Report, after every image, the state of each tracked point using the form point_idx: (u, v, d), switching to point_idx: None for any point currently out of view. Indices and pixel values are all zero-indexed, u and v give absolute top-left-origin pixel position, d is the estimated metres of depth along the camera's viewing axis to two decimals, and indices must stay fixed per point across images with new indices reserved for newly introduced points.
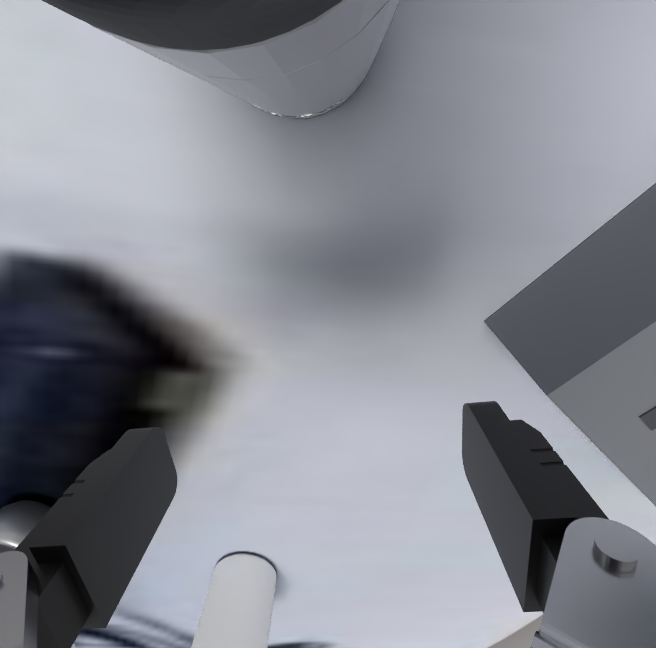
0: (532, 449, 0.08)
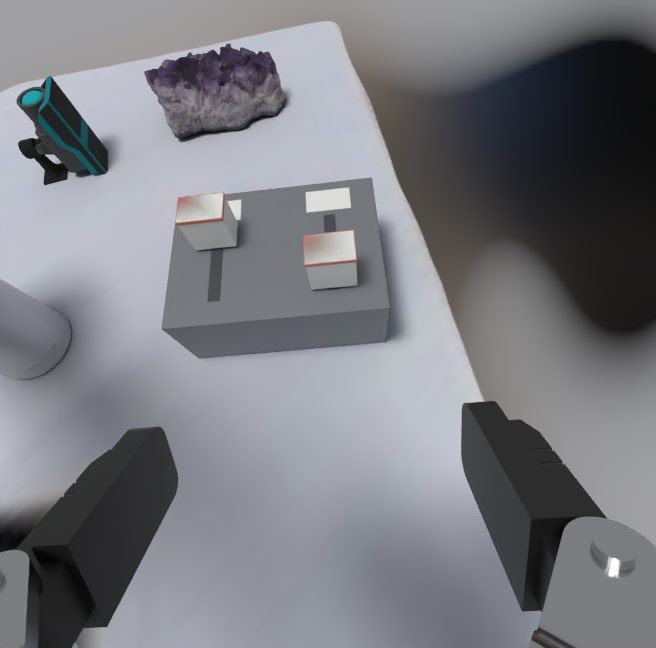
0: (531, 449, 0.08)
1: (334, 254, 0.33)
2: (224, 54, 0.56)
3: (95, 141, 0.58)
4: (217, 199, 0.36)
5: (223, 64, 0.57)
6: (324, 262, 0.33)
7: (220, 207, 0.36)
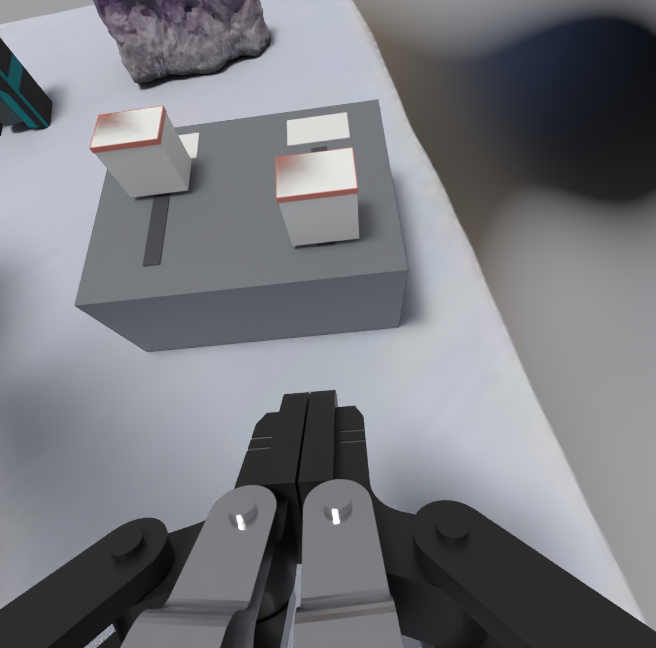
0: (348, 429, 0.09)
1: (323, 182, 0.21)
2: None
3: (33, 87, 0.47)
4: (153, 115, 0.25)
5: None
6: (307, 193, 0.21)
7: (156, 125, 0.25)
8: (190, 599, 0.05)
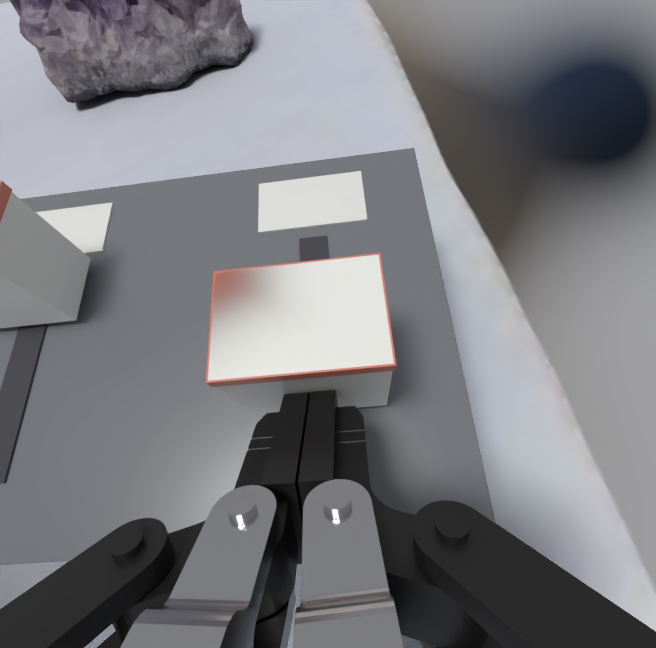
0: (348, 429, 0.09)
1: (315, 342, 0.09)
2: None
3: None
4: None
5: None
6: (278, 373, 0.09)
7: None
8: (190, 599, 0.05)
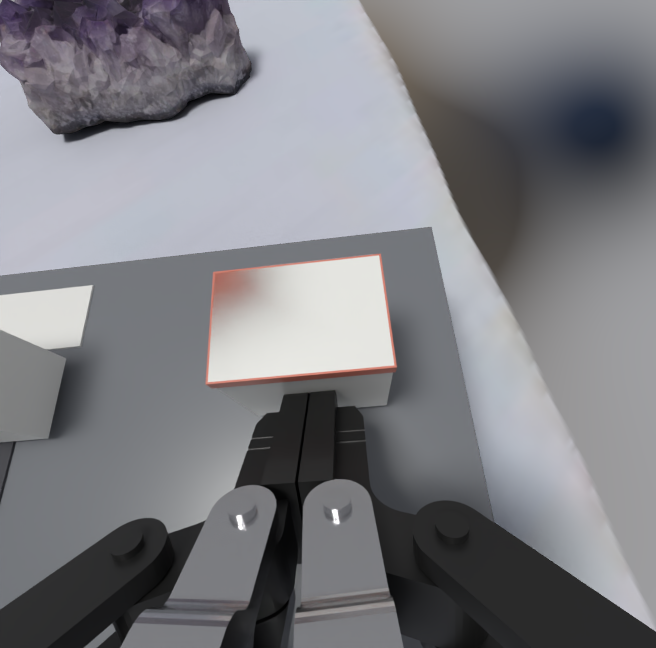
0: (348, 429, 0.09)
1: (315, 344, 0.09)
2: None
3: None
4: None
5: None
6: (278, 375, 0.09)
7: None
8: (190, 599, 0.05)
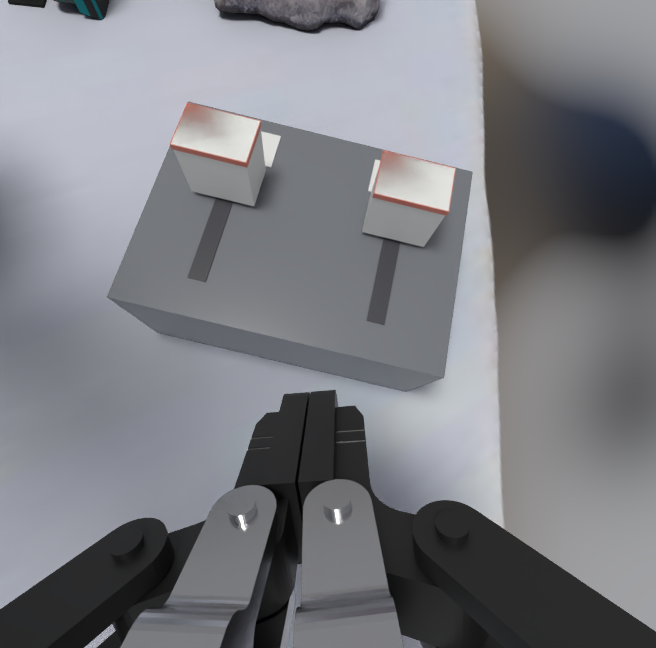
0: (348, 430, 0.09)
1: (420, 193, 0.22)
2: None
3: None
4: (248, 129, 0.23)
5: None
6: (403, 200, 0.22)
7: (248, 144, 0.22)
8: (190, 599, 0.05)
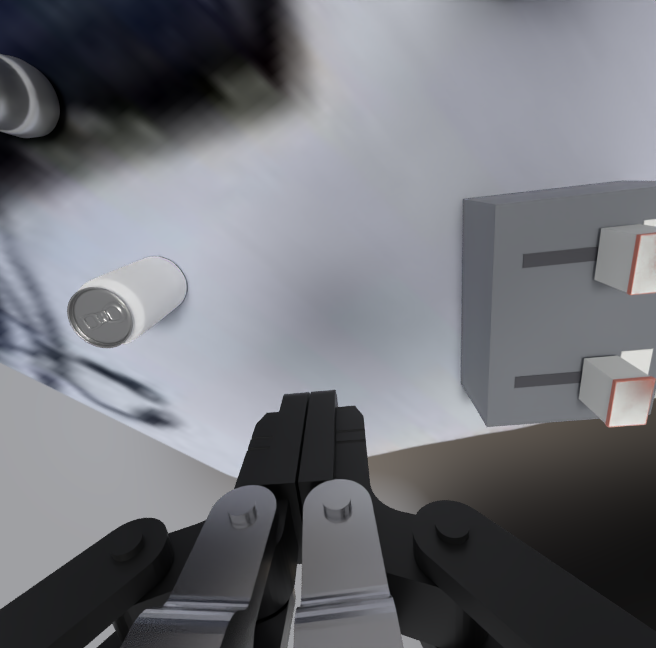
0: (348, 430, 0.09)
1: (620, 408, 0.33)
2: None
3: None
4: None
5: None
6: (613, 399, 0.32)
7: (648, 290, 0.29)
8: (190, 599, 0.05)
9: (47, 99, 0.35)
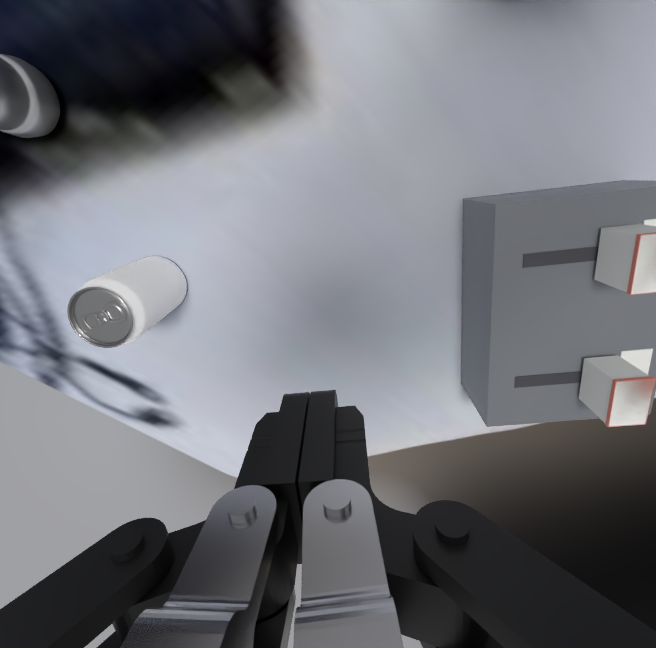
0: (348, 430, 0.09)
1: (620, 408, 0.33)
2: None
3: None
4: None
5: None
6: (613, 399, 0.32)
7: (648, 290, 0.29)
8: (190, 599, 0.05)
9: (48, 99, 0.35)
